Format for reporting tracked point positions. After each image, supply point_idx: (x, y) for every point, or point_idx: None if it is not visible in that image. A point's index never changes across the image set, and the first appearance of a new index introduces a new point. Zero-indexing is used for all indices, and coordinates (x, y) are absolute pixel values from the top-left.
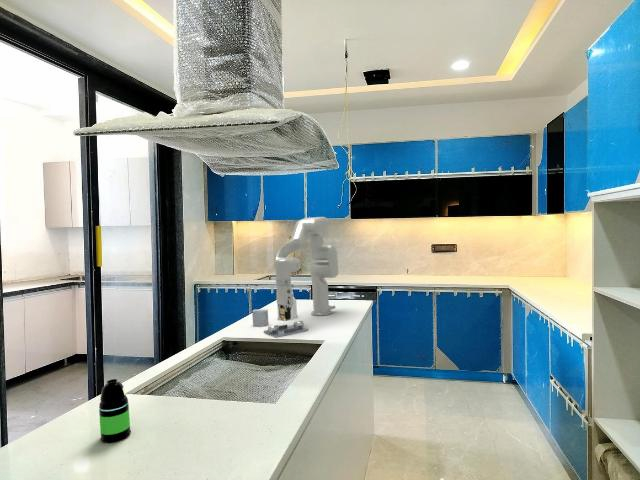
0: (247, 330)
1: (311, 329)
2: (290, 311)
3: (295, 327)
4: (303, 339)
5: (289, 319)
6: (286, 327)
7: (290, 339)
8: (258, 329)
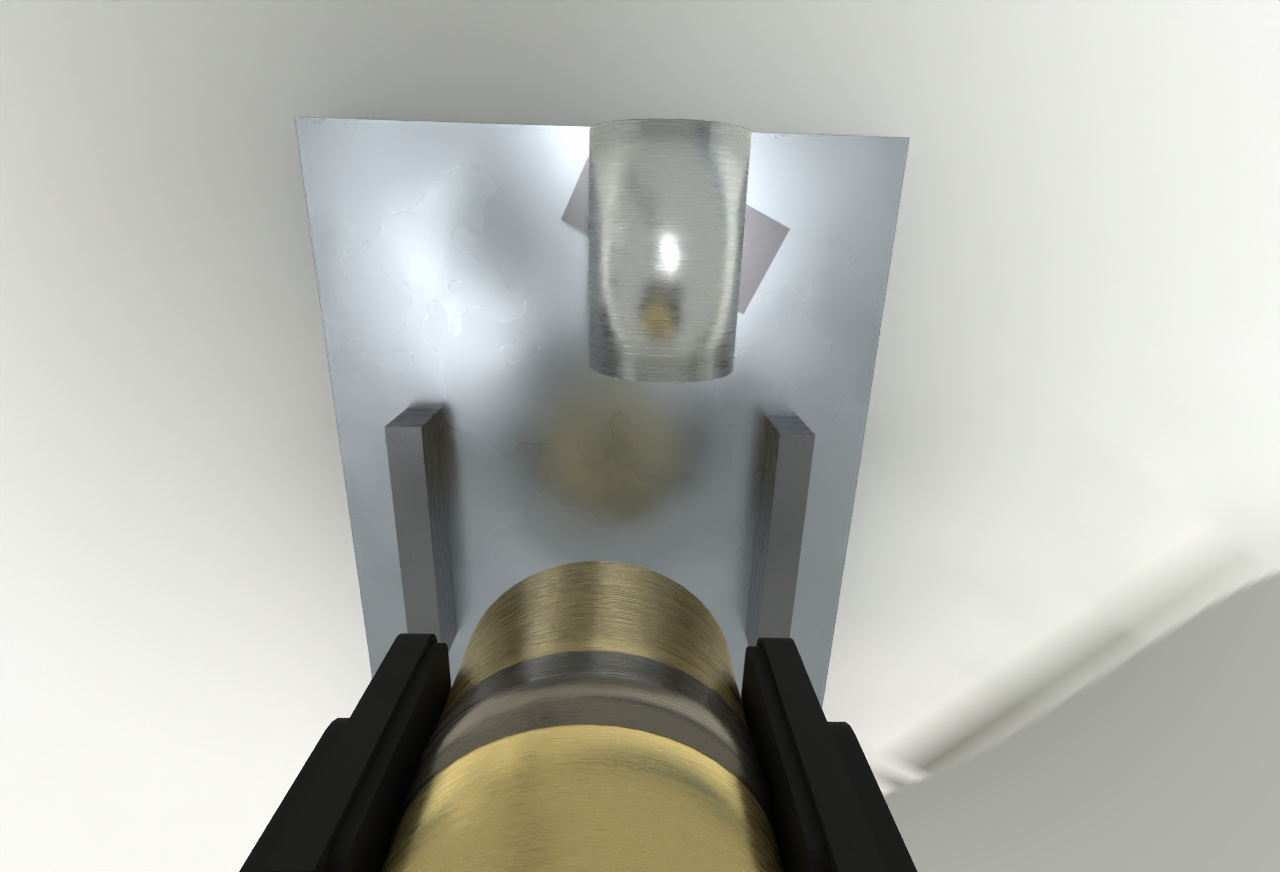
0: (76, 863)
1: (859, 12)
2: (876, 849)
3: (794, 435)
4: (1248, 563)
5: (710, 617)
6: (439, 434)
7: (1060, 687)
8: (109, 741)
